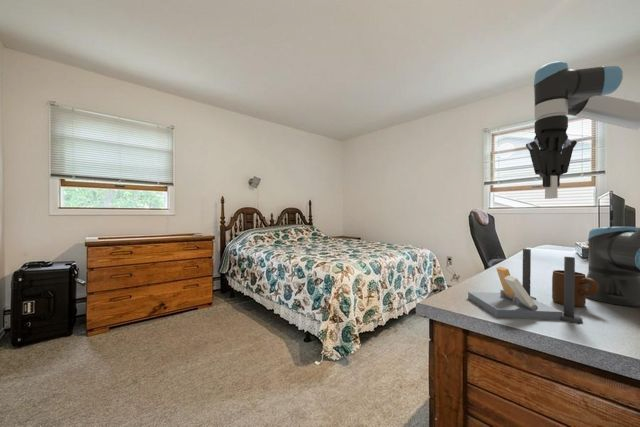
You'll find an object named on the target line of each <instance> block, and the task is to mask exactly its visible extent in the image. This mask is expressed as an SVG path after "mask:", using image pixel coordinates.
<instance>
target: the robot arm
mask: <svg viewBox="0 0 640 427" xmlns="http://www.w3.org/2000/svg"><path fill="white" fill-rule="evenodd" d="M623 74H624V72H623V69H622V68H621V67H620V66H618V65H606V66H605V65H602V66H596V67H587V68H580V69H579V68H578V69H577V68H576V69H574V68H573V69H569V65H568V63H567V62H566V61H563V60H561V61H553V62H552V61H551V62H549V63H546V64H544V65H543V66H541V67H539V68H538V69H537V70H536V71H535V74H534V78H533V80H534V81H533V89H534V94H533V95H534V120H535V122H534V134H535V135H534V138H533V140H532V141H530V142H528V143H526V144H525V147H526V149H527V150H528V151H529V155H530V159H531V162H532V166H533V171H534V173H535V175H539V177H540V178H542V187H543V188H544V199H545V200H550V199H558V197H559V196H558V187H560V186H561V185H560V184H561V180H560V178H561V176H562V175H563V174H567V173H568V171H569V168H570V163H571V159H572V156H573V151H574V149H575V147H576V145H577V144H578V142H577V140H571V139H569V136H568V133H567V130H568V129H569V117H568V116H573V117H578V118H582V119H587V120H591V121H595V122H599V123H604V124H608V125H613V126H616V127H617V126H618V127H622V128H625V129H631V130H635V131H639V132H640V102H638V101H634V100H629V99H624V98H619V97H613V96H609V95H610V94H612V93H614V92H616V91H617V90H618V88H619V87H620V86H621V84H622V81H623ZM587 241H588V256H587V258H588V259H587V260H588V266H587V267H588V270H587V271H588V272H587V275H586V278H591V279H593V280H595V281H596V282H597V283H598V286H599V289H598V292H597V293H596V294H595V295H592V296H587V295H586V299H591V300H595V301H598V302H603V303H607V304H613V305H618V306H628V307H635V308H636V307H637V308H638V307H640V227H636V226H609V227H608V226H606V227H605V226H603V227H595V228H591V230H589V232H588V238H587ZM590 287H591V285H590V284H589V283H587V284H586V289H587V290H589V289H590Z"/></svg>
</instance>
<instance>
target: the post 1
mask: <svg viewBox="0 0 640 427" xmlns="http://www.w3.org/2000/svg"><path fill="white" fill-rule="evenodd" d="M531 252H532V250H531V248H522V282H521V285H522V286H523V288H524V289H525V290H526V292H527V293H528V295H529V296H530V297H531V298H532V299H534V300H536V301H537V298H536V297H534V296H531V266H532V265H531V264H532V263H531V261H532V258H531V257H532V256H531V255H532V253H531Z"/></svg>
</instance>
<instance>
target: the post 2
mask: <svg viewBox="0 0 640 427" xmlns="http://www.w3.org/2000/svg"><path fill="white" fill-rule="evenodd" d="M563 260H564V261H563V262H564V264H563V267H564V269H563V271H564V305H563V312H562V317H561V318H560V320H559V321H563V322H567V323H572V324H582V323H583V318H582V317H581V316H578V315H576V314H575V307H574V298H575V272H576V271H575V270H576V269H575V268H576V263H575V262H576V258H575V257H574V256H573V257H572V256H564V258H563Z"/></svg>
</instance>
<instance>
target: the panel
mask: <svg viewBox="0 0 640 427" xmlns="http://www.w3.org/2000/svg"><path fill="white" fill-rule="evenodd" d="M467 294H468V295H467V298H468V299H469V300H470V301H472V302H473V303H475V304H477V305H478V306H479V307H481V308H482V309H484V310H485V311H487V312H488V313H491V314H492V315H493V316H495V317H496V318H503V319H504V318H506V319H507V318H509V319H529V320H530V319H532V320H533V319H534V320H535V319H536V320H557V319H558V320H559V321H561V320H560V318H561V317H562V313H563V311H561V310H558V309H557V308H555V307H552V306H550V305H548V304H545V303H543V302H542V301H541V302H540V301H539V300H537V299H536V300H534V299H532V298H531V299H532V300H533V302H534V303H535V305H537V307H538V309H537V310H536V311H533V310H531V309H529V308H527V307H525V306H523V305H522V303H521V301H520V300H519V299H518V297H517V296H516V295H513V300H511V299H509V298H507V297H506V296H505V293H504V290H503V289H500V292H483V291H482V292H481V291H480V292H479V291H468V292H467Z"/></svg>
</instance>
